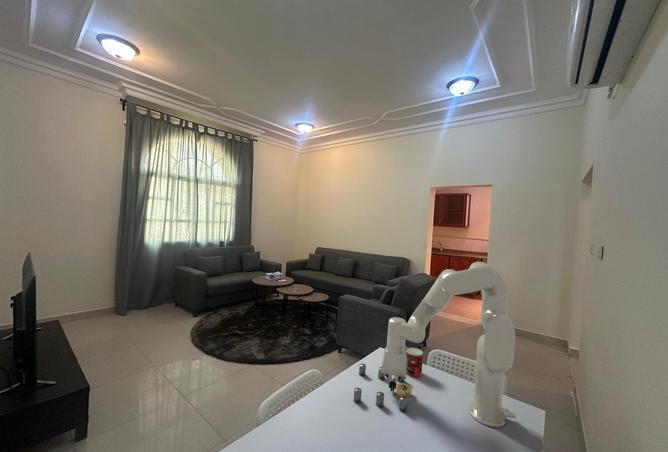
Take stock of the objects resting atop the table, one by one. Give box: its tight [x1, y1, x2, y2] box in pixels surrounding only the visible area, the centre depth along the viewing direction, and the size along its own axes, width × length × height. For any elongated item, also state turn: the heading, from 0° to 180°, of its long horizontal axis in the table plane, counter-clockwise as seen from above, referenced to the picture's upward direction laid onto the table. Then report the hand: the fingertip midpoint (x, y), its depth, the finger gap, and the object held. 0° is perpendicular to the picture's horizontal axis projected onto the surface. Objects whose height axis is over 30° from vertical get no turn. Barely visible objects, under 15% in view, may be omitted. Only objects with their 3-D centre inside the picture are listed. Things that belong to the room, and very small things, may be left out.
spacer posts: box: [353, 363, 408, 413], centre depth 121 cm, size 21×23×4 cm
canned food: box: [405, 347, 424, 378], centre depth 137 cm, size 8×8×11 cm
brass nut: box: [395, 382, 413, 399], centre depth 120 cm, size 7×6×3 cm
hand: (392, 389), depth 120 cm, fingers closed
